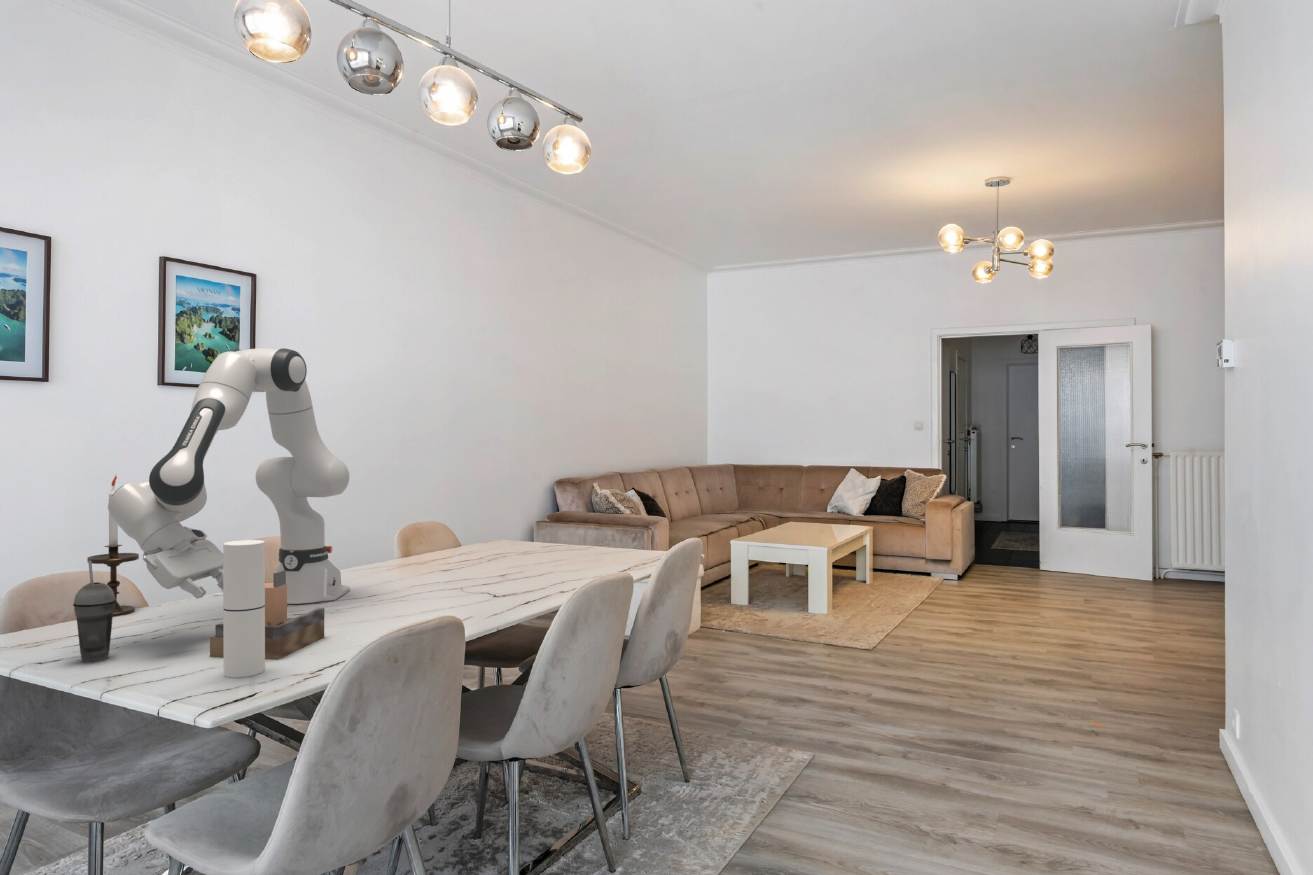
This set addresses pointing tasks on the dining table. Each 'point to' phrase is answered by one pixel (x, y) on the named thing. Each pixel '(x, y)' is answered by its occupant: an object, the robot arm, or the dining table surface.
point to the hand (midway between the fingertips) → (215, 591)
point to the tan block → (276, 599)
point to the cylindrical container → (244, 608)
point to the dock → (281, 635)
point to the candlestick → (114, 561)
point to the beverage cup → (94, 619)
